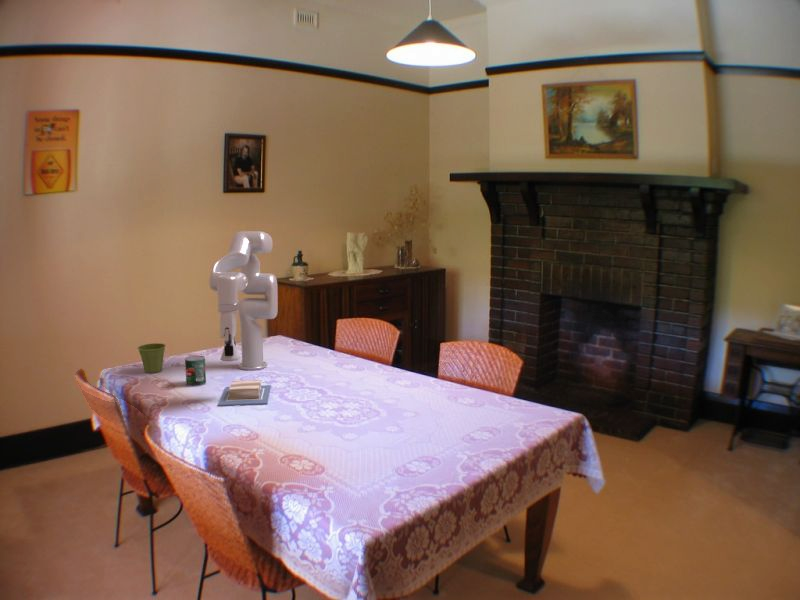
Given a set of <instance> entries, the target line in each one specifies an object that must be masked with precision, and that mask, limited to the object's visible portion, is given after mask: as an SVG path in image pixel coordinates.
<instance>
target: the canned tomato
mask: <svg viewBox="0 0 800 600" xmlns="http://www.w3.org/2000/svg"><path fill="white" fill-rule="evenodd" d="M184 360H185V361H184V364H185V366H184V367H185V383H186V384H185V385H186V386H187V385H188V387H201V386H204V385H206V384H207V376H206V375H207V373H206V357H205V356H204V355H191V356H187V357H185V358H184Z"/></svg>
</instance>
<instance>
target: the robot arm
mask: <svg viewBox="0 0 800 600" xmlns="http://www.w3.org/2000/svg"><path fill="white" fill-rule="evenodd" d="M273 243H274V242H273V238H272V237H271V235H270V234H269V233H267V232H264V231H260V230H259V231H258V230H256V231H254V230H253V231H252V230H251V231H249V230H241V231H240V230H239V231H237V232H235V233H234V235H233V236H232V239H231V242H230V245H229V248H228V249H229V250H228V253H227V254H225V255H224V256H222V257H220V258H219V259H218V260H217V261H215V263H214V264H213V265H212V268H211V271H210V275H209V279H208V284H209V287H210V289H211V291H214V292H216V293H217V294H216V295H217V309H218V310H217V312H218V313H219V314H220V315H219V316H220V318H219V319H220V320H219V321H220V322H219V324H220V325H219V326H220V327H219V328H220V330H219V333H220V334H219V335H220V336H219V337H220V338H221V339H224V346H223V350H224V349H225V356H233V355H234V354H233V345H232V338H233V340H234V344H235V346H236V345H237V344H236V343H237V342H236V334H237V314H238V317H239V323H240V342H241V343H240V345H241V346H240V347H241V349H240V350H241V362H240V363H239V364H238V368H239V369H240V370H244V371H257V370H262V369H264V368H267V366H268V362H266V361H264V341H263V338H264V337H263V327H262V325H261V323H260V322H259V321H258V320H273V319H275V318H276V317H277V315H278V313H279V311H278V310H279V309H278V308H279V307H278V306H279V302H278V300H279V299H278V298H279V296H278V279H277V277H276V275H275V274H273V273H268V272H267V273H262V272H261V262H260V260H259V258H258V257H257V256H256V254H257V255H258V254H259V255H261V254H264V255H265V254H270V253H271V252H272V250H273V247H274V246H273V245H274V244H273ZM238 269H240V271H237V272H236V271H235V270H238ZM239 292H242V293H243V294H245V295H252V296H253V295H254V296H257V295H258V296H259V295H260V296H261V295H262V296H263V295H264V296H266V297H244V298H242V299H240V300H239ZM229 336H231V338H229ZM229 339H230V340H229Z"/></svg>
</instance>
